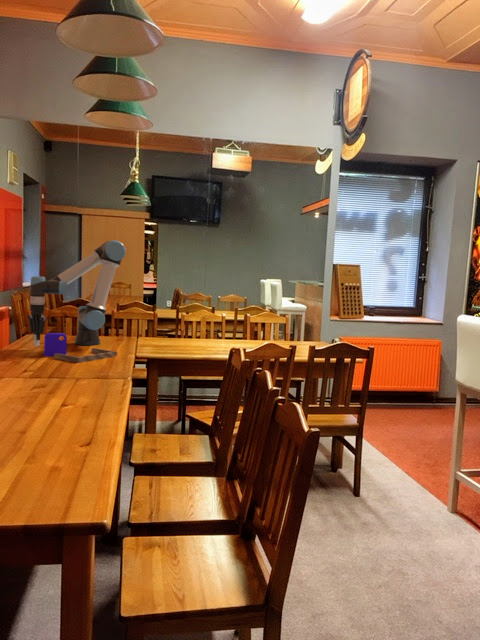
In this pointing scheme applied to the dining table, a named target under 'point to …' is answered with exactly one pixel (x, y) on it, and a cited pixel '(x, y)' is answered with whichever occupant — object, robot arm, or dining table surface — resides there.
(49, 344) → the bracket
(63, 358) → the handle
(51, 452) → the dining table surface
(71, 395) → the dining table surface
